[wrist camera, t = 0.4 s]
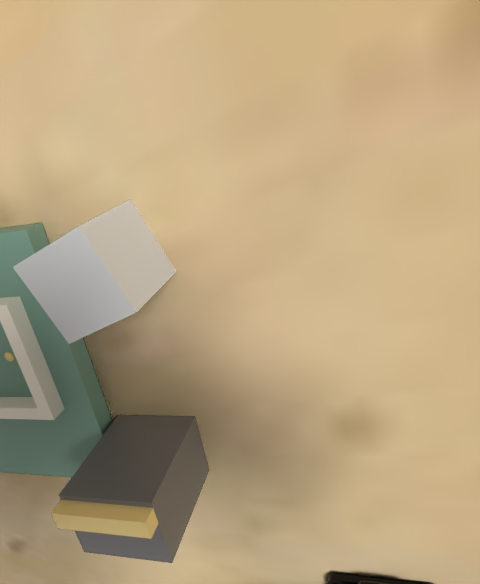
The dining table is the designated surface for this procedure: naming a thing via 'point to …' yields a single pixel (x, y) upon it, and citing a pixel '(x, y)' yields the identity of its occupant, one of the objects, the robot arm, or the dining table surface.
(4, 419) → the board
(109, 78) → the dining table surface
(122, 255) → the plug
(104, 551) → the plug
